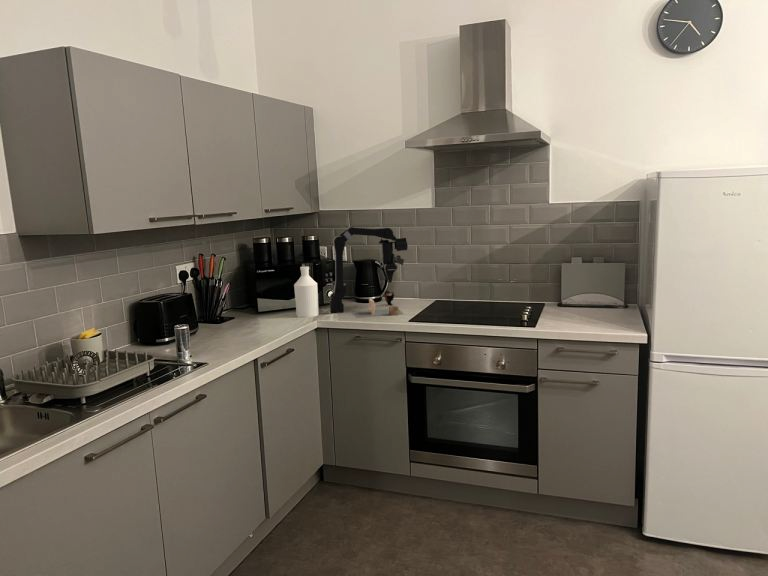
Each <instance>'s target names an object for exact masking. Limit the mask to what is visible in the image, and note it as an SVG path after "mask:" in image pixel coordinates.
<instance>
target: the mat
mask: <svg viewBox="0 0 768 576" xmlns="http://www.w3.org/2000/svg"><path fill="white" fill-rule="evenodd" d="M398 312H399V315H404V312H403V311H401V309H399V308H398ZM352 313H353V315H354V316H355V318H356V319H360V318H361V319H362V318H372V317H373V318H374V317H384V316H391V315H390V314H389V308H386V309H375V314H374V315H371V313H370V310H359V311H358V310H357V311H352ZM399 315H398V316H399Z"/></svg>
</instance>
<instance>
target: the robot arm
mask: <svg viewBox="0 0 768 576" xmlns="http://www.w3.org/2000/svg"><path fill="white" fill-rule="evenodd" d="M352 236H370V237H371V236H372V237H377V238H380V239H379V240H378V241H377V244H381V256H382V257H381V258H382V260H380V262H379V268H380V269H381V271H382V273H383V276H384V278H385V281H388V282H389V284H390V283H392V282H393V277H394V273H395V272H396V271H397V270H398V265H397V264H399V265H401V266H403V265H404V262H405V258H402V257H401V255H398V254H397V255H395V253H394V250H395V251H396V252H402V251H403V252H405V251H408V242H407V237H399V238H397V236H395V235H394V232H393V229H392V228H390V227H387V226H386V227H377V228H368V227H366V228H365V227H353V226H348V227H347V229H345V231H343V232H341V234H340V235H336V236H334V237H333V239H332V245H333V249H334V257H335V258H334V259H335V261H334V264H335V266H334V267H335V281H334V285H333V292H332V293H331V294H330V295H329V299H330V300H329V313H330V314H331V315H332V314H343V313H344V312H345V308H344V302H343V298H345V297H346V293H348V292H347V284H346V283H344V255H343V254H344V252H345V251H344V250H345V246H346V243H347V241H348V240H349V239H350V238H351V237H352Z"/></svg>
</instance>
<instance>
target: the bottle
mask: <svg viewBox="0 0 768 576" xmlns="http://www.w3.org/2000/svg"><path fill="white" fill-rule="evenodd" d="M299 270H300V273H301V274H300V277H299V279H297V281H296V282H295V283H294V284H293V287H294V299H295V308H296V309H295V311H296V312H295V313H296V317H297V316H298V318H312V317H317V316H319V314H320V313H319V293H318V291H319V289H318V282H316V281H315V280H314V279H313V278H312V277H311V276H310V271H309V270H310V266H300V269H299Z"/></svg>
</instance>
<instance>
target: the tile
mask: <svg viewBox="0 0 768 576" xmlns="http://www.w3.org/2000/svg"><path fill="white" fill-rule="evenodd" d="M368 306H369V307H368V308H369V310H370V313H371V315H374V314H375V310H376V309H375V308H376V307H375V301H374V299H373V298H368ZM369 310H368V311H369Z"/></svg>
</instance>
